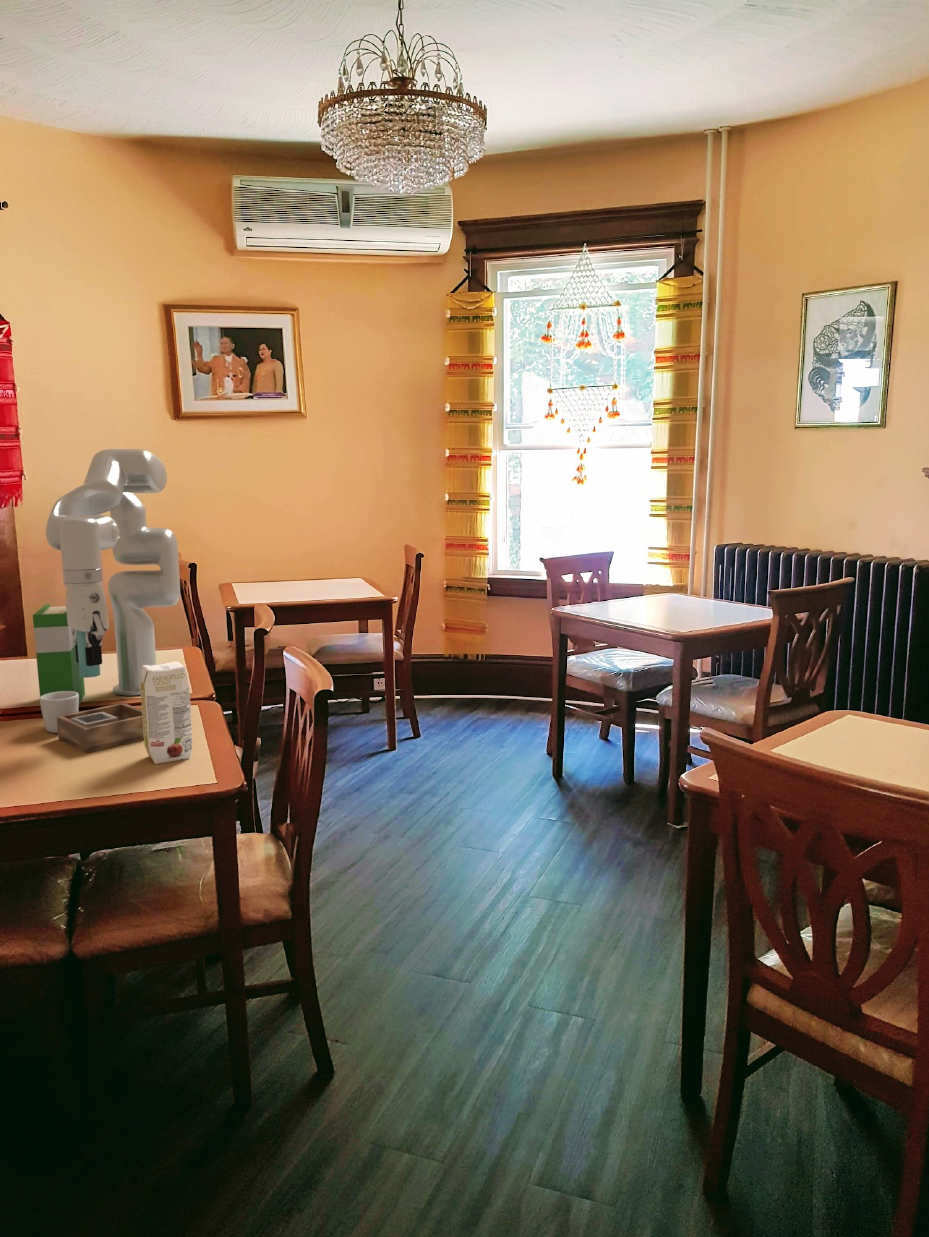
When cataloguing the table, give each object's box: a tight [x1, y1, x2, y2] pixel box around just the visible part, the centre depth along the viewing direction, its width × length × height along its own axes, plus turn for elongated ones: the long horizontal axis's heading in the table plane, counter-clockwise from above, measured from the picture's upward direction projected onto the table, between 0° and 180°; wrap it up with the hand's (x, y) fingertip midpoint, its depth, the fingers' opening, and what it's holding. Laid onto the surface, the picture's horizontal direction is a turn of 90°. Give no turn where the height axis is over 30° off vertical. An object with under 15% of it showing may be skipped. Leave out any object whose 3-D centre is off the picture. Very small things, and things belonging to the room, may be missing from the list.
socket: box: [71, 712, 118, 727], centre depth 186 cm, size 7×7×4 cm
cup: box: [38, 691, 80, 734], centre depth 194 cm, size 11×8×8 cm
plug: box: [76, 629, 101, 679], centre depth 183 cm, size 4×4×10 cm
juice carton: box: [140, 661, 193, 765], centre depth 174 cm, size 8×9×19 cm
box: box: [57, 702, 144, 754], centre depth 188 cm, size 15×14×5 cm
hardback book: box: [32, 603, 86, 714], centre depth 213 cm, size 18×7×24 cm, turn 16°
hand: (89, 662), depth 183 cm, fingers closed on plug, 4 cm apart
